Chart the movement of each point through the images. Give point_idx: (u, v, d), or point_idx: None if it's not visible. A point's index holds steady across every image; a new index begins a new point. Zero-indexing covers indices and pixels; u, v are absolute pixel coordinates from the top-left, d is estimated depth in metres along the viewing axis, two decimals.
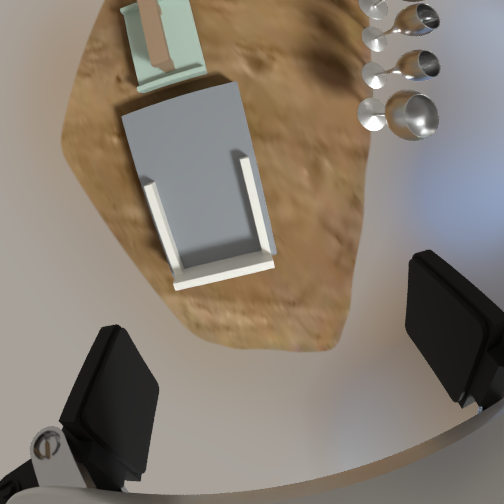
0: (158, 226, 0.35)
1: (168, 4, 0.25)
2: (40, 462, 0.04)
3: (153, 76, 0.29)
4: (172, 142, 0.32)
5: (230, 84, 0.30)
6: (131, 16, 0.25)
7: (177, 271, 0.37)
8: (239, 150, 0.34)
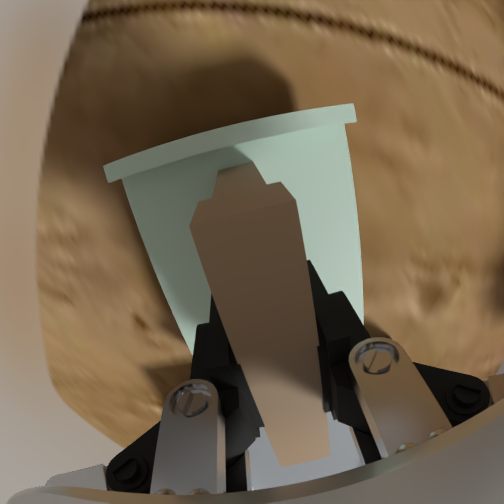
0: None
1: (281, 155, 0.10)
2: (188, 420, 0.05)
3: None
4: None
5: None
6: (149, 186, 0.10)
7: None
8: None
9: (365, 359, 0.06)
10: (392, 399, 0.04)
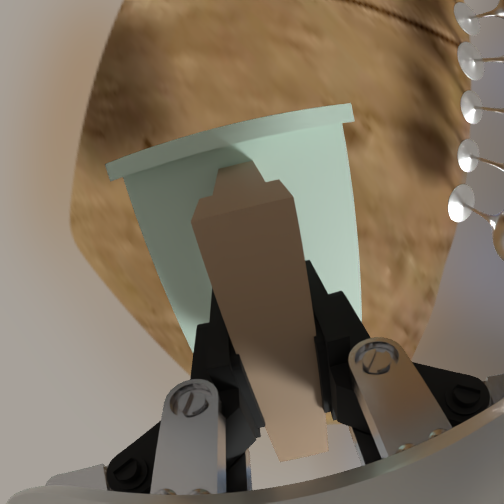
0: None
1: (280, 154, 0.10)
2: (189, 420, 0.05)
3: None
4: None
5: None
6: (150, 184, 0.10)
7: None
8: None
9: (365, 359, 0.06)
10: (392, 399, 0.04)
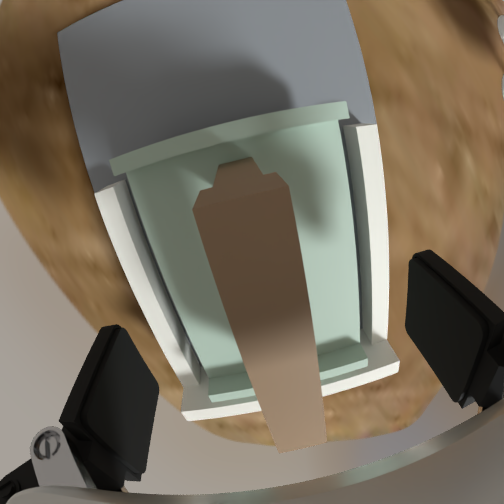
0: (137, 293, 0.14)
1: (278, 150, 0.10)
2: (40, 462, 0.04)
3: (240, 361, 0.14)
4: (172, 79, 0.11)
5: None
6: (152, 180, 0.10)
7: (188, 380, 0.16)
8: None
9: None
10: None
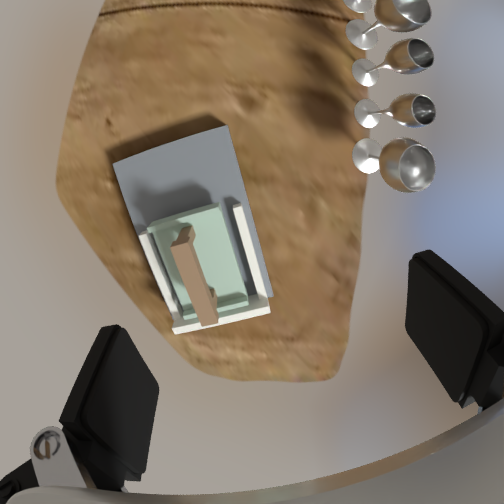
0: (155, 274, 0.35)
1: (201, 222, 0.32)
2: (40, 462, 0.04)
3: None
4: (165, 190, 0.33)
5: (220, 128, 0.31)
6: (160, 233, 0.32)
7: (176, 315, 0.38)
8: (232, 197, 0.34)
9: None
10: None
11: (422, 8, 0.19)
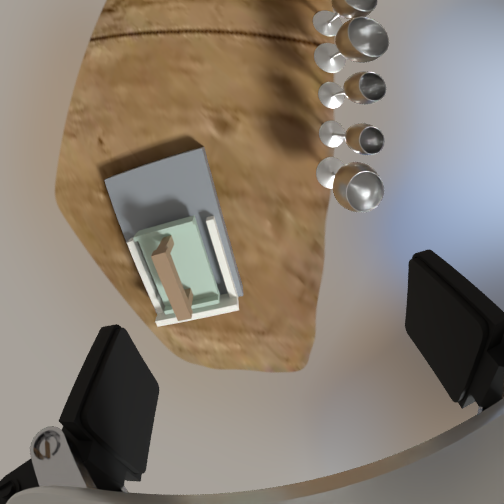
0: (141, 274, 0.41)
1: (178, 233, 0.37)
2: (40, 462, 0.04)
3: None
4: (149, 204, 0.38)
5: (196, 151, 0.36)
6: (145, 241, 0.38)
7: (159, 310, 0.43)
8: (206, 211, 0.39)
9: None
10: None
11: (382, 38, 0.24)
